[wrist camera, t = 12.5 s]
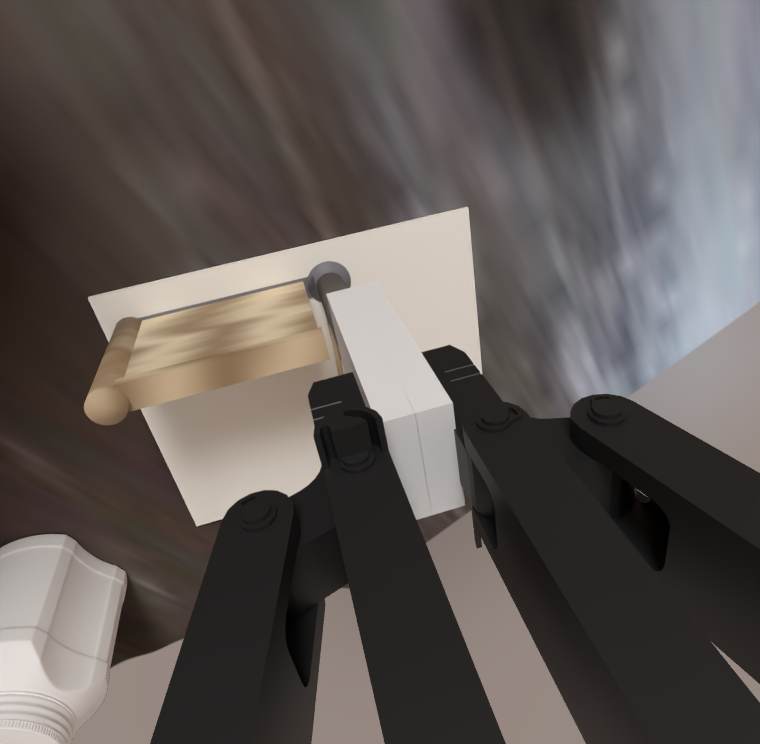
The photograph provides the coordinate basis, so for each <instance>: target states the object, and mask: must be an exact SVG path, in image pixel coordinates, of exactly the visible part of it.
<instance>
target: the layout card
mask: <svg viewBox="0 0 760 744" xmlns="http://www.w3.org/2000/svg"><path fill="white" fill-rule="evenodd" d="M326 273H336V274H338V275H340V276H341V277H342V279H343V281H344V283H345V285H346V287H347V289H348V288H352V287H356V286H360V285H364V284H368V283H372V282H376V281H377V282H378V284H379V286H380V287H381V289H382V290H383V292H384V294H385V295H386V297H387V298H388V300H389V302H390V303H391V305H392V306H393V308H394V310H395V311H396V313H397V314H398V316H399V318H400V319H401V321H402V322H403V324H404V326H405V327H406V329H407V330H408V332H409V334H410V335H411V337H412V338H413V340H414V342H415V343H416V345H417V346H418V348H419V350H420V351H421V352H424V351H428V350H432V349H436V348H439V347H443V346H447V345H451V346H453V347H455V348H458V349H460V350H462V351H464V352H465V353H466V354H467V355H468V357H469V358H470V359H471V361H472V362H473V364H474V365H475V366H476V367H477V369H478V370H479V371H480V374H482V366H481V354H480V342H479V330H478V318H477V306H476V294H475V282H474V270H473V258H472V246H471V234H470V222H469V210H468V207H464V208H459V209H455V210H451V211H447V212H443V213H438V214H434V215H430V216H426V217H422V218H417V219H413V220H409V221H405V222H401V223H396V224H392V225H388V226H384V227H379V228H375V229H371V230H367V231H363V232H358V233H354V234H350V235H346V236H342V237H337V238H333V239H329V240H325V241H321V242H316V243H312V244H308V245H304V246H300V247H295V248H291V249H287V250H283V251H278V252H274V253H270V254H266V255H262V256H257V257H253V258H249V259H245V260H241V261H236V262H232V263H228V264H224V265H220V266H215V267H211V268H207V269H203V270H198V271H194V272H190V273H186V274H182V275H177V276H173V277H169V278H165V279H161V280H156V281H152V282H148V283H144V284H140V285H135V286H131V287H127V288H123V289H118V290H114V291H110V292H106V293H102V294H97V295H93V296H89V297H88V300H89V302H90V304H91V306H92V308H93V310H94V312H95V315H96V317H97V319H98V321H99V323H100V325H101V327H102V329H103V331H104V333H105V336H106V338H107V340H108V342H109V341H110V339H111V336H112V334H113V331H114V329H115V326H116V324H117V323H118V321H120V320H121V319H123V318H126V317H135V318H138V319H140V320H146V319H150V318H155V317H159V316H163V315H167V314H171V313H175V312H179V311H183V310H187V309H191V308H195V307H200V306H204V305H208V304H212V303H216V302H220V301H224V300H228V299H232V298H236V297H240V296H245V295H249V294H253V293H257V292H261V291H265V290H269V289H273V288H277V287H281V286H285V285H290V284H294V283H298V282H302V281H303V283H304V286H305V289H306V292H307V295H308V298H309V302H310V305H311V308H312V311H313V314H314V318H315V321H316V324H317V327H318V328H320V327H321V328H322V331H323V334H324V338H325V342H326V346H327V350H328V354H329V358H330V359H329V360H326V361H322V362H318V363H314V364H310V365H306V366H303V367H299V368H295V369H291V370H287V371H283V372H280V373H276V374H272V375H268V376H264V377H260V378H257V379H253V380H249V381H245V382H241V383H237V384H234V385H230V386H226V387H222V388H218V389H214V390H211V391H207V392H203V393H199V394H195V395H191V396H188V397H184V398H180V399H176V400H172V401H168V402H165V403H161V404H157V405H153V406H149V407H145V408H142V409H141V411H142V413H143V415H144V417H145V419H146V421H147V423H148V425H149V428H150V430H151V432H152V434H153V436H154V438H155V440H156V442H157V444H158V446H159V448H160V451H161V453H162V455H163V457H164V459H165V461H166V463H167V465H168V467H169V469H170V471H171V474H172V476H173V478H174V480H175V482H176V484H177V486H178V488H179V490H180V492H181V494H182V497H183V499H184V501H185V503H186V505H187V507H188V509H189V511H190V513H191V515H192V517H193V520H194V522H195V524H196V526H200V525H203V524H207V523H210V522H214V521H217V520H221V519H223V518H224V516H225V514H226V512H227V511H228V509H229V508H230V507H231V506H233V505H234V504H235V503H236V502H237V501H238V500H240V499H241V498H243V497H245V496H247V495H249V494H251V493H255V492H259V491H263V490H277V491H279V492H282V493H284V494H287V495H288V497H290V496H292V495H293V494H295V493H297V492H299V491H300V490H302V489H303V488H305V487H306V486H308V485H309V484H310V483H311V482H312V481H313V480H314V479H315V478H316V476H317V475H318V473H319V472H320V469H321V466H322V465H321V461H320V458H319V455H318V451H317V448H316V444H315V441H314V437H313V435H314V428H315V426H314V422H313V417H312V413H311V408H310V404H309V399H308V394H309V391H310V389H311V387H312V384H313V382H317V381H320V380H324V379H328V378H332V377H335V376H338V373H337V367H336V361H335V356H334V350H333V345H332V339H331V334H330V328H329V322H328V319H327V316H326V313H325V311H324V308H323V305H322V302H321V299H320V297H319V294H318V291H317V281H318V279H319V278H320V277H321V276H322V275H324V274H326Z"/></svg>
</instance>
